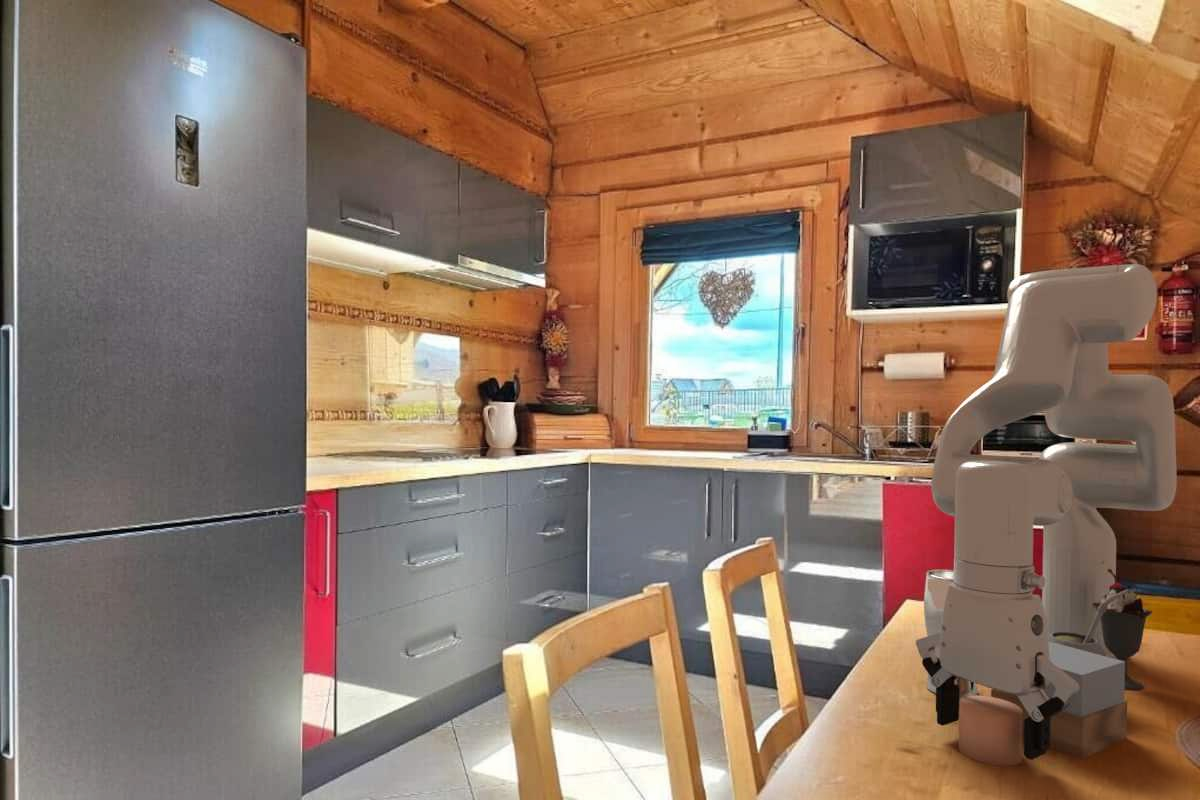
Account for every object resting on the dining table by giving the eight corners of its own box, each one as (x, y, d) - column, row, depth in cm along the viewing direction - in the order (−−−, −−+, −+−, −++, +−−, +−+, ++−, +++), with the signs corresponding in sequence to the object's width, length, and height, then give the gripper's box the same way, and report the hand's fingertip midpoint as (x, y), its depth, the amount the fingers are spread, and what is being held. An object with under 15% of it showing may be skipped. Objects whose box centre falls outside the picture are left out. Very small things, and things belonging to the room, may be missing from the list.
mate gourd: (1029, 690, 103) (1031, 575, 103) (1089, 691, 103) (1090, 576, 103) (1064, 713, 95) (1066, 589, 95) (1128, 713, 95) (1130, 589, 95)
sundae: (1095, 671, 111) (1096, 564, 111) (1153, 682, 106) (1155, 571, 106) (1087, 683, 106) (1089, 571, 106) (1148, 696, 101) (1150, 579, 101)
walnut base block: (1036, 711, 97) (1036, 674, 97) (1126, 740, 88) (1127, 700, 88) (990, 728, 91) (991, 689, 91) (1082, 762, 83) (1083, 719, 83)
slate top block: (1043, 677, 96) (1044, 640, 96) (1124, 701, 88) (1124, 661, 88) (1000, 690, 91) (1000, 651, 91) (1081, 717, 83) (1082, 675, 83)
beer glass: (988, 702, 98) (990, 582, 98) (928, 697, 100) (930, 578, 100) (973, 683, 105) (975, 570, 105) (918, 678, 106) (919, 567, 106)
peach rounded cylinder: (978, 736, 88) (979, 691, 88) (1032, 757, 83) (1033, 709, 83) (947, 748, 85) (948, 701, 85) (1001, 770, 80) (1002, 721, 80)
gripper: (1096, 590, 79) (1094, 762, 79) (939, 559, 93) (936, 704, 93) (1058, 599, 75) (1055, 780, 75) (899, 566, 89) (897, 717, 89)
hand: (989, 738), depth 84 cm, fingers open, 9 cm apart
